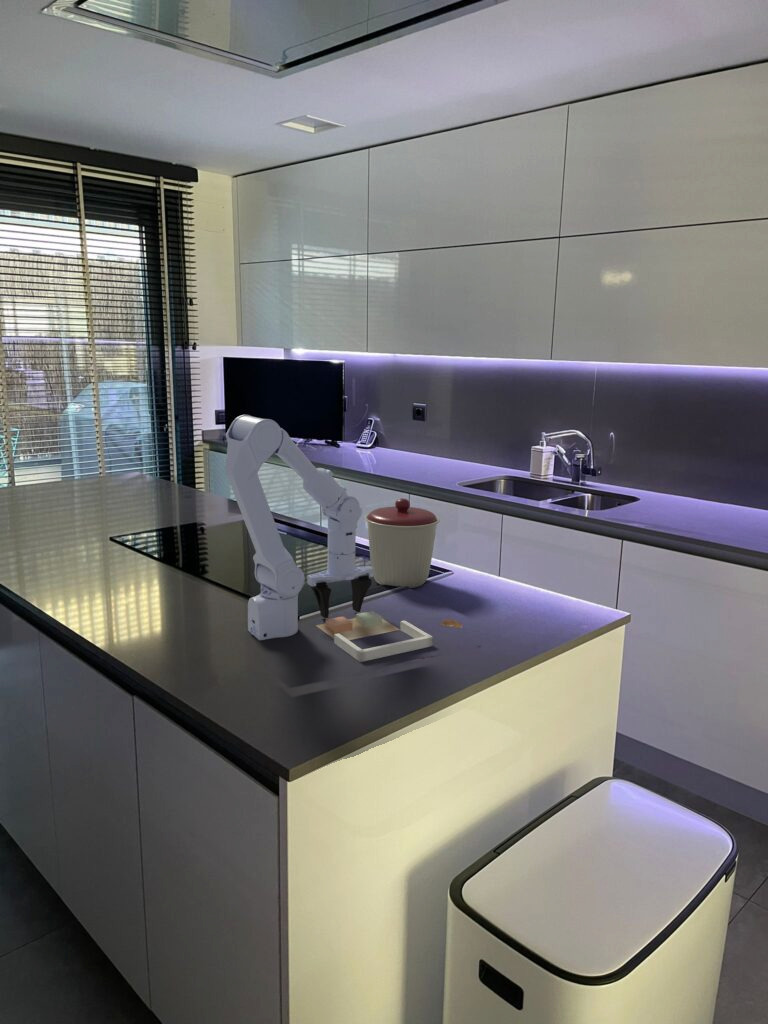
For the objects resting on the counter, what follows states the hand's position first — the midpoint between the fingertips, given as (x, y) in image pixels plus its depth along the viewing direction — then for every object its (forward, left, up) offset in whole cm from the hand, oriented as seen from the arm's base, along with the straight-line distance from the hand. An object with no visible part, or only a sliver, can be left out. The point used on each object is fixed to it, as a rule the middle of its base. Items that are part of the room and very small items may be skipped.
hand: (340, 613), depth 163 cm
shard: (+19, -11, -3) cm, 22 cm away
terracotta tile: (-3, -6, -1) cm, 7 cm away
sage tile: (+4, -6, -1) cm, 7 cm away
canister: (+26, +17, -2) cm, 31 cm away
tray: (0, -17, -2) cm, 17 cm away
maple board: (0, -7, -2) cm, 8 cm away
